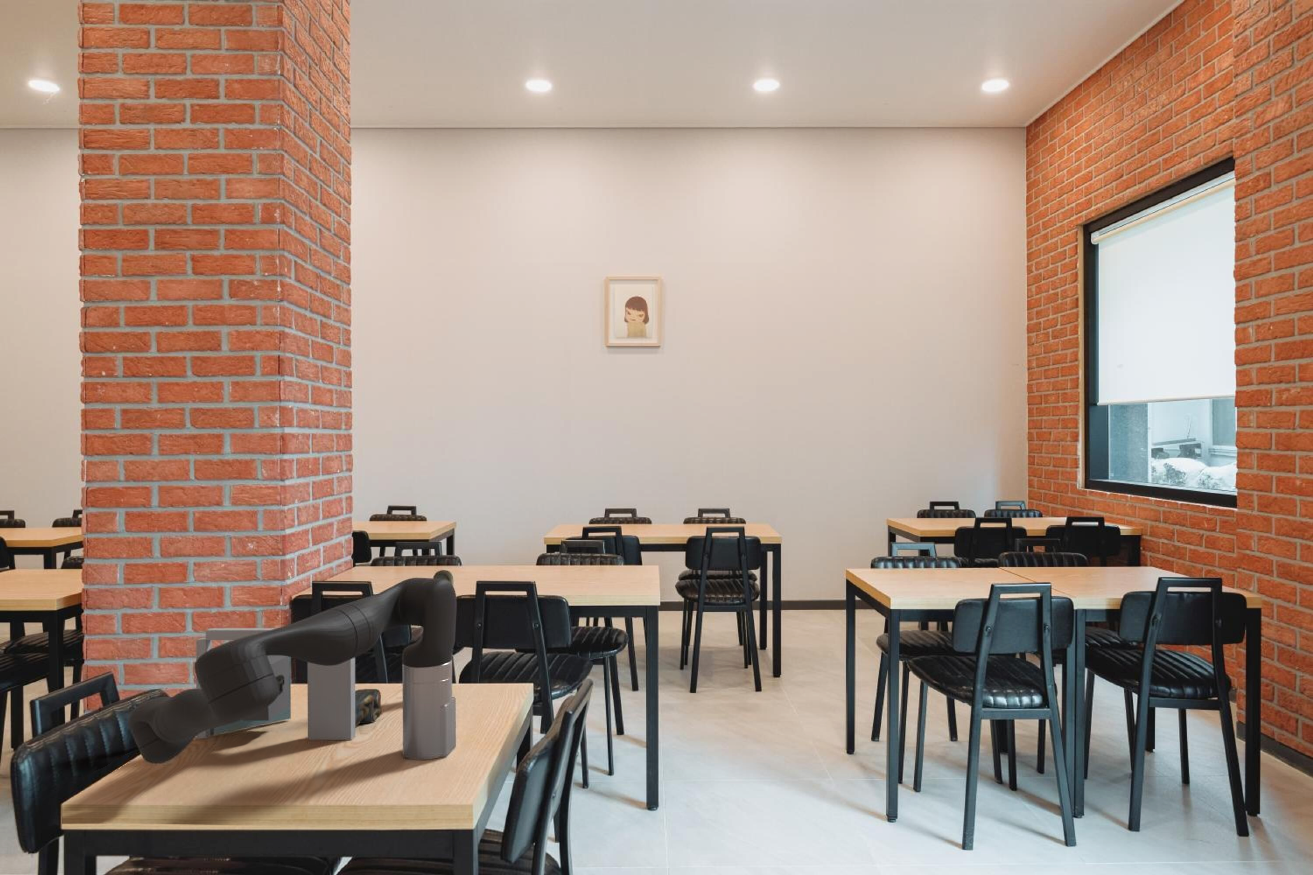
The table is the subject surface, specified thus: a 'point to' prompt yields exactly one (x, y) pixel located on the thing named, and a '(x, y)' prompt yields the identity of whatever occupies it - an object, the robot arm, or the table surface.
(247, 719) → the doorstop block
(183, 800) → the table surface
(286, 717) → the door
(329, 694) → the wall frame
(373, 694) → the sculpture
